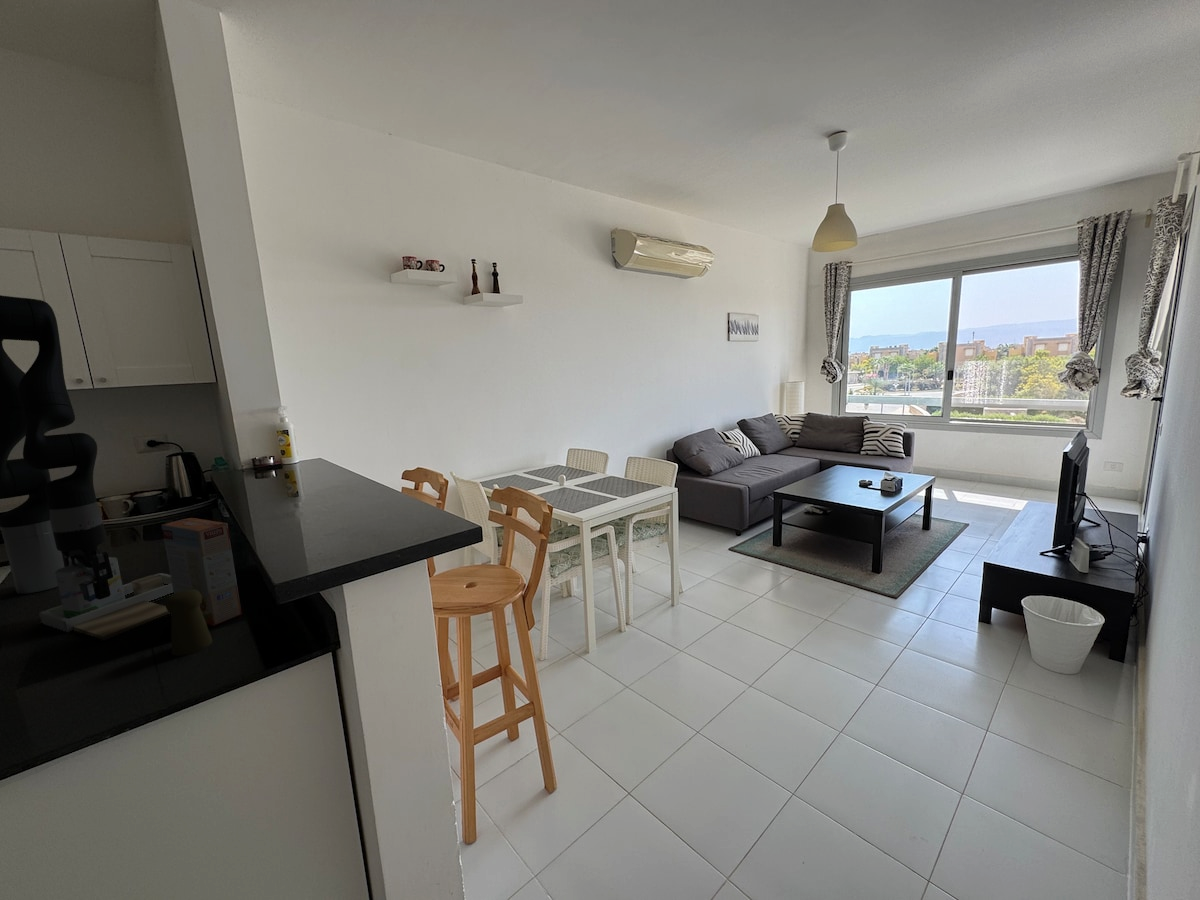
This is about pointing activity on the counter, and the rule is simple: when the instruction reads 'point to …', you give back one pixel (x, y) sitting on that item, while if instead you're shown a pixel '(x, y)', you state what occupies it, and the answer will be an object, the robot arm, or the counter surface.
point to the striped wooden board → (121, 619)
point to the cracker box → (203, 565)
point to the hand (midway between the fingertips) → (93, 595)
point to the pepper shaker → (187, 623)
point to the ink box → (86, 590)
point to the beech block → (146, 584)
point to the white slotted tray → (59, 621)
